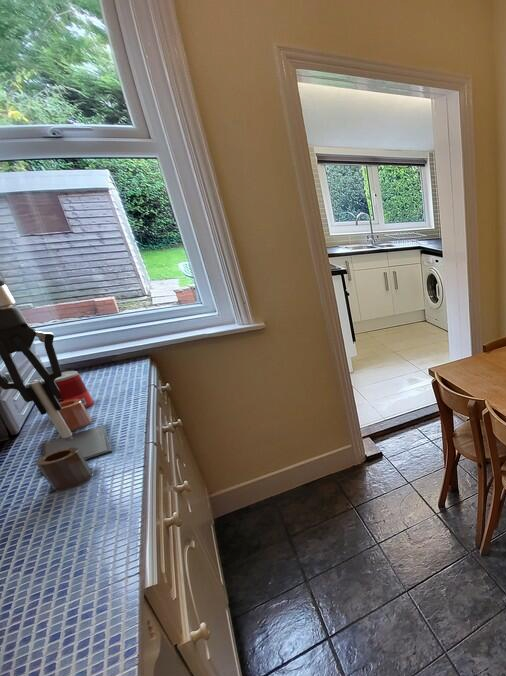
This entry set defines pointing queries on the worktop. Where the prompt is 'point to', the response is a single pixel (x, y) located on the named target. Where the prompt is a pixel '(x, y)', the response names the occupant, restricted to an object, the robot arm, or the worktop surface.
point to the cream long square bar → (51, 410)
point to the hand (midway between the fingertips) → (51, 410)
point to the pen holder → (74, 414)
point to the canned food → (72, 388)
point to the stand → (64, 468)
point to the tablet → (82, 443)
